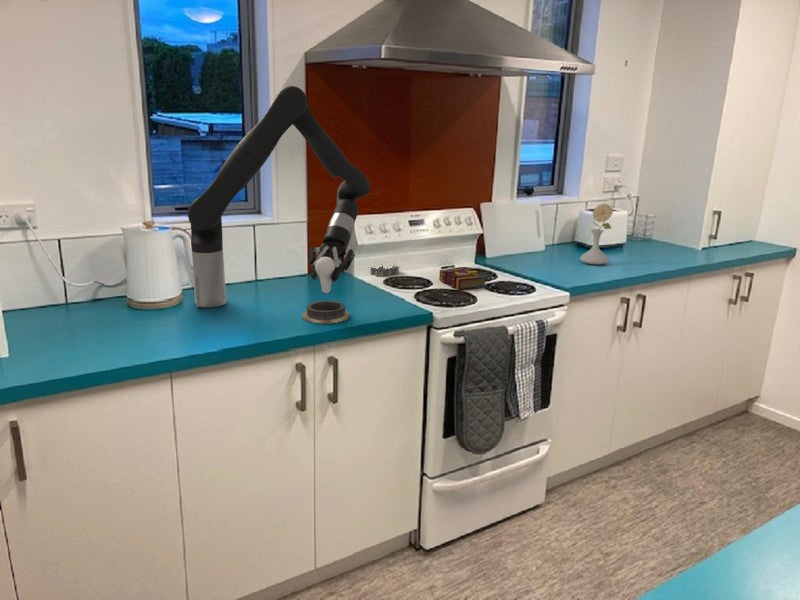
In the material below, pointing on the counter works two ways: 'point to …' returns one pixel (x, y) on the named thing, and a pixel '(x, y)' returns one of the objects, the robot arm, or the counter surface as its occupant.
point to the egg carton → (384, 271)
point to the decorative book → (463, 278)
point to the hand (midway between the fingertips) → (323, 279)
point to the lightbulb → (325, 272)
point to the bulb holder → (326, 312)
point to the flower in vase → (598, 236)
